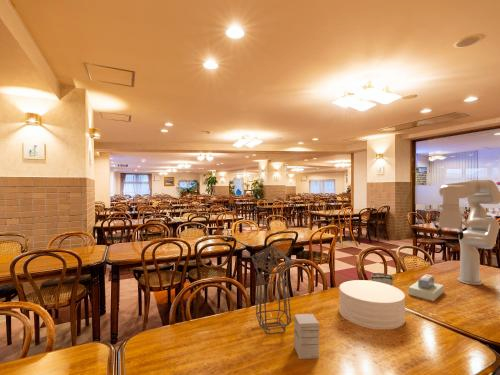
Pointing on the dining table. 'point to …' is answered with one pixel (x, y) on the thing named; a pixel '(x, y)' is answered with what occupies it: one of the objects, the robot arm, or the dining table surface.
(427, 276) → the cover
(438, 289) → the stand
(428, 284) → the housing base
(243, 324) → the dining table surface
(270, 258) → the geometric lantern
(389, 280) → the food container
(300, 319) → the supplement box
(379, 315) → the plate stack
